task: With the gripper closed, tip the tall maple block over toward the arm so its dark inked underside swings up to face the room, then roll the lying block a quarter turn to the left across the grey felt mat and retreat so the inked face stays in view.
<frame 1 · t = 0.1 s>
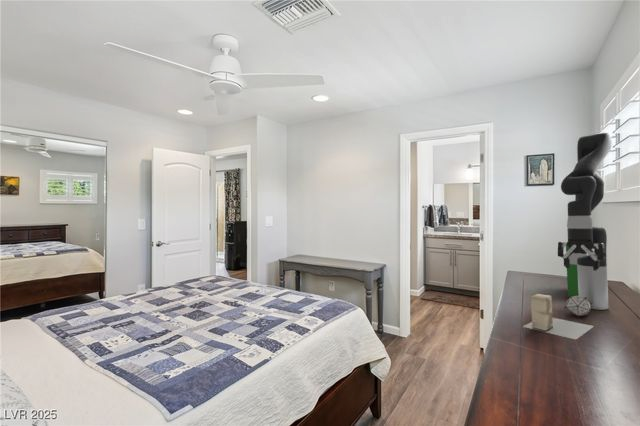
hand: (581, 269, 121), 17 cm above the dresser, tool pointing down, fingers open, 8 cm apart
game die: (578, 316, 118), on the dresser
maple block: (542, 328, 107), resting on felt mat
felt mat: (558, 327, 108), on the dresser
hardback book: (581, 293, 150), on the dresser
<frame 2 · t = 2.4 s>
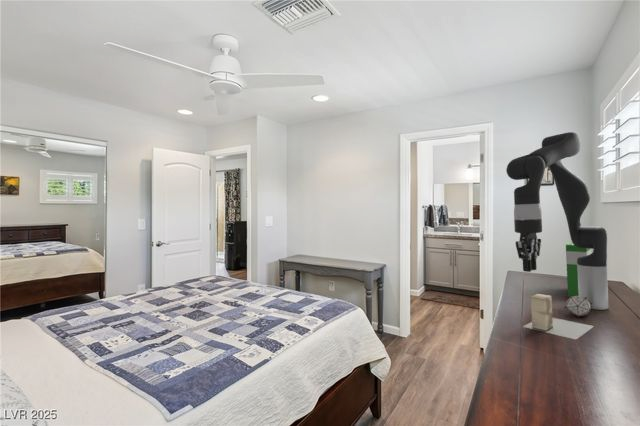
hand: (529, 270, 102), 21 cm above the dresser, tool pointing down, fingers open, 3 cm apart
nothing on the dresser moved.
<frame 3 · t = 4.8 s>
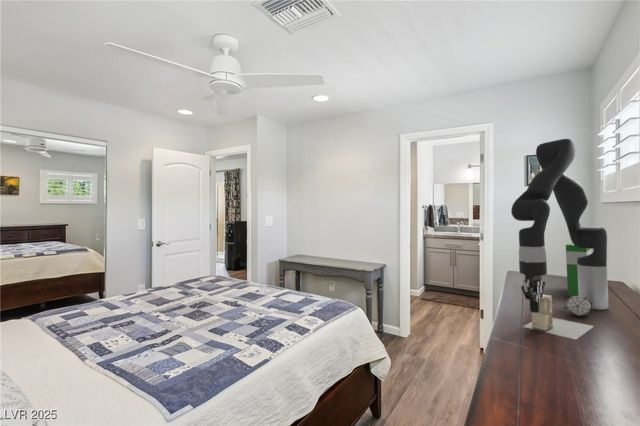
hand: (534, 311, 103), 7 cm above the dresser, tool pointing down, fingers closed
maple block: (542, 328, 107), resting on felt mat, touching gripper
everything else where it was.
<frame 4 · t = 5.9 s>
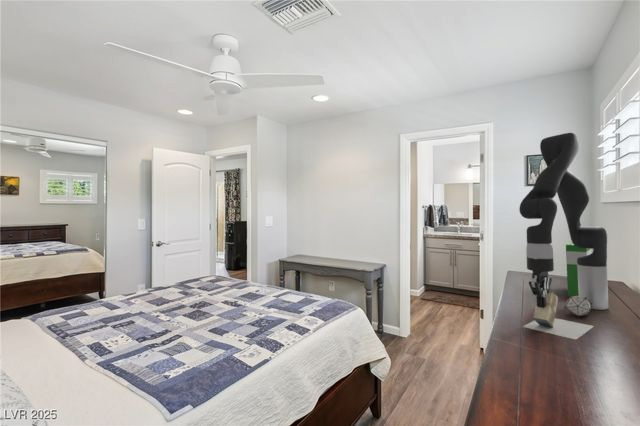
hand: (541, 307, 106), 8 cm above the dresser, tool pointing down, fingers closed
maple block: (542, 323, 107), point 2 cm above the dresser, tilted 32°, touching felt mat, gripper
everything else where it was.
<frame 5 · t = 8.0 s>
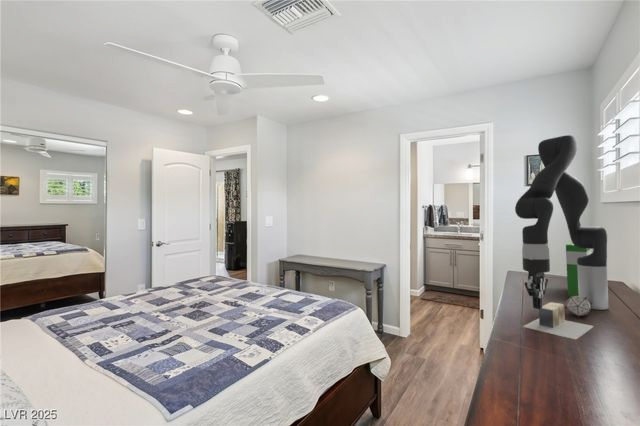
hand: (537, 308, 105), 8 cm above the dresser, tool pointing down, fingers closed
maple block: (545, 317, 108), point 3 cm above the dresser, tilted 90°, touching felt mat
everything else where it was.
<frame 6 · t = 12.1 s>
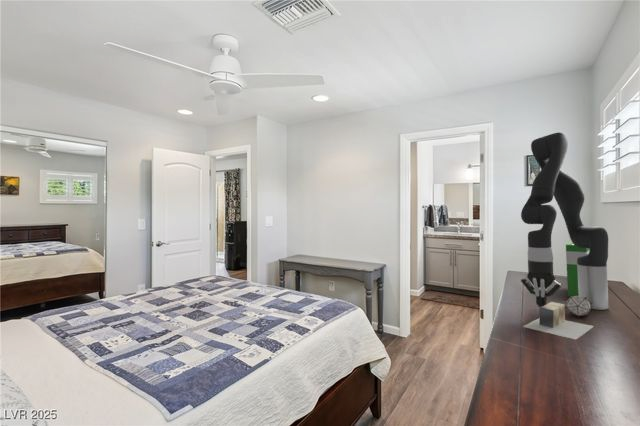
hand: (541, 306, 114), 5 cm above the dresser, tool pointing down, fingers closed
maple block: (546, 317, 108), point 3 cm above the dresser, tilted 90°, touching felt mat, gripper
everything else where it was.
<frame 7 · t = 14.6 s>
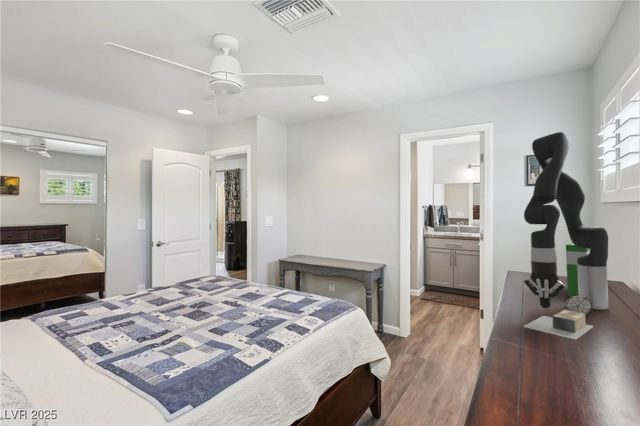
hand: (545, 307, 113), 5 cm above the dresser, tool pointing down, fingers closed
maple block: (563, 324, 104), point 2 cm above the dresser, tilted 90°, touching felt mat
everything else where it was.
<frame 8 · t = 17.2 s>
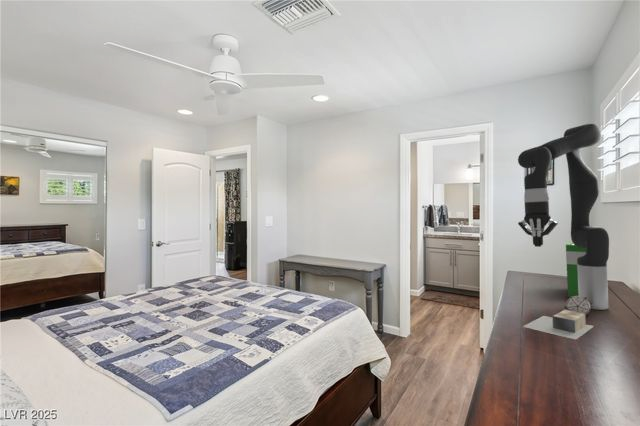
hand: (538, 246, 118), 27 cm above the dresser, tool pointing down, fingers closed
nothing on the dresser moved.
at the end: maple block inside the target area (2.0 cm from its centre), point 2.3 cm above the dresser; maple block tilted 90°; maple block moved 6.2 cm from its start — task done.
